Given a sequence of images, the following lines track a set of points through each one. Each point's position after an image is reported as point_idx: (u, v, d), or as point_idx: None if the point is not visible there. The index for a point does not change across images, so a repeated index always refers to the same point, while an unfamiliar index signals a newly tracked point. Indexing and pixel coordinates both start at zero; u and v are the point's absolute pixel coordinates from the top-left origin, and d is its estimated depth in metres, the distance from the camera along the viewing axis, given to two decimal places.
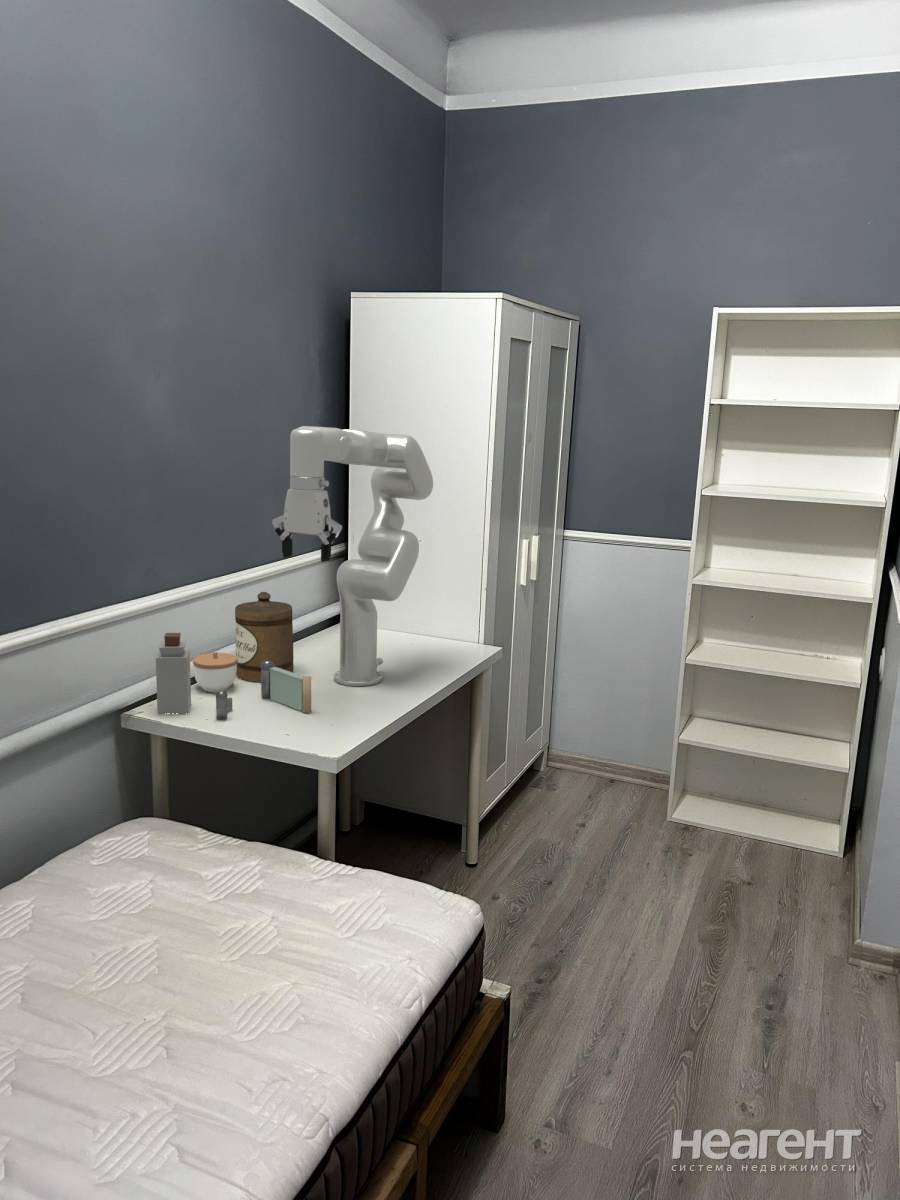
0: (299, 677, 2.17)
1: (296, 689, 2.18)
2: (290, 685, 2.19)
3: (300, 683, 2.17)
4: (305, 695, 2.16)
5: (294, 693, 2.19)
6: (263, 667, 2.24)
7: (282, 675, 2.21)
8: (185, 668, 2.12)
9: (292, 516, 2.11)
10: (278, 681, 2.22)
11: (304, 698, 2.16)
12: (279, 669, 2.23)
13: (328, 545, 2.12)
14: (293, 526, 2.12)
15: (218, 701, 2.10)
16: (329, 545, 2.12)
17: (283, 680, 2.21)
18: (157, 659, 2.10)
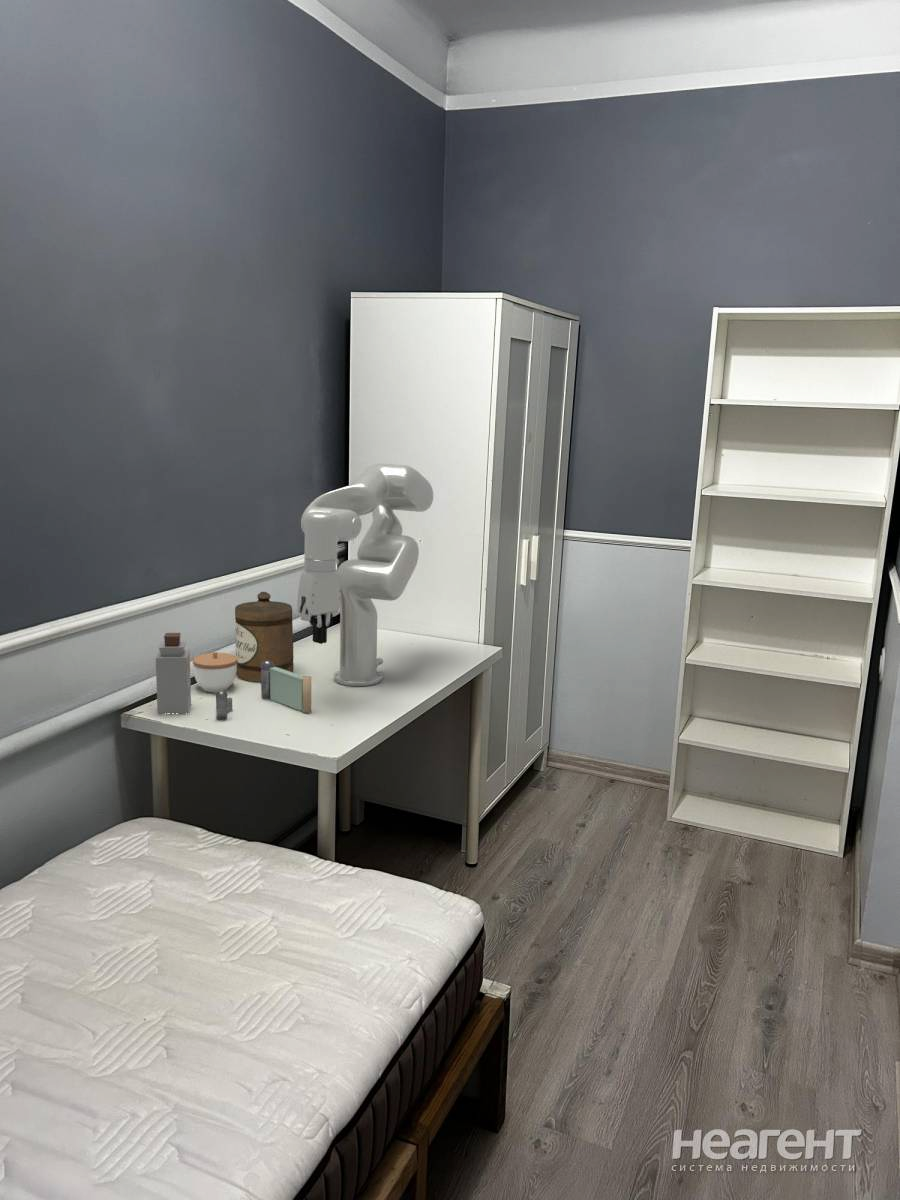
0: (299, 677, 2.17)
1: (296, 689, 2.18)
2: (290, 685, 2.19)
3: (300, 683, 2.17)
4: (305, 695, 2.16)
5: (294, 693, 2.19)
6: (263, 667, 2.24)
7: (282, 675, 2.21)
8: (185, 668, 2.12)
9: (318, 599, 2.15)
10: (278, 681, 2.22)
11: (304, 698, 2.16)
12: (279, 669, 2.23)
13: None
14: (319, 608, 2.16)
15: (218, 701, 2.10)
16: None
17: (283, 680, 2.21)
18: (157, 659, 2.10)
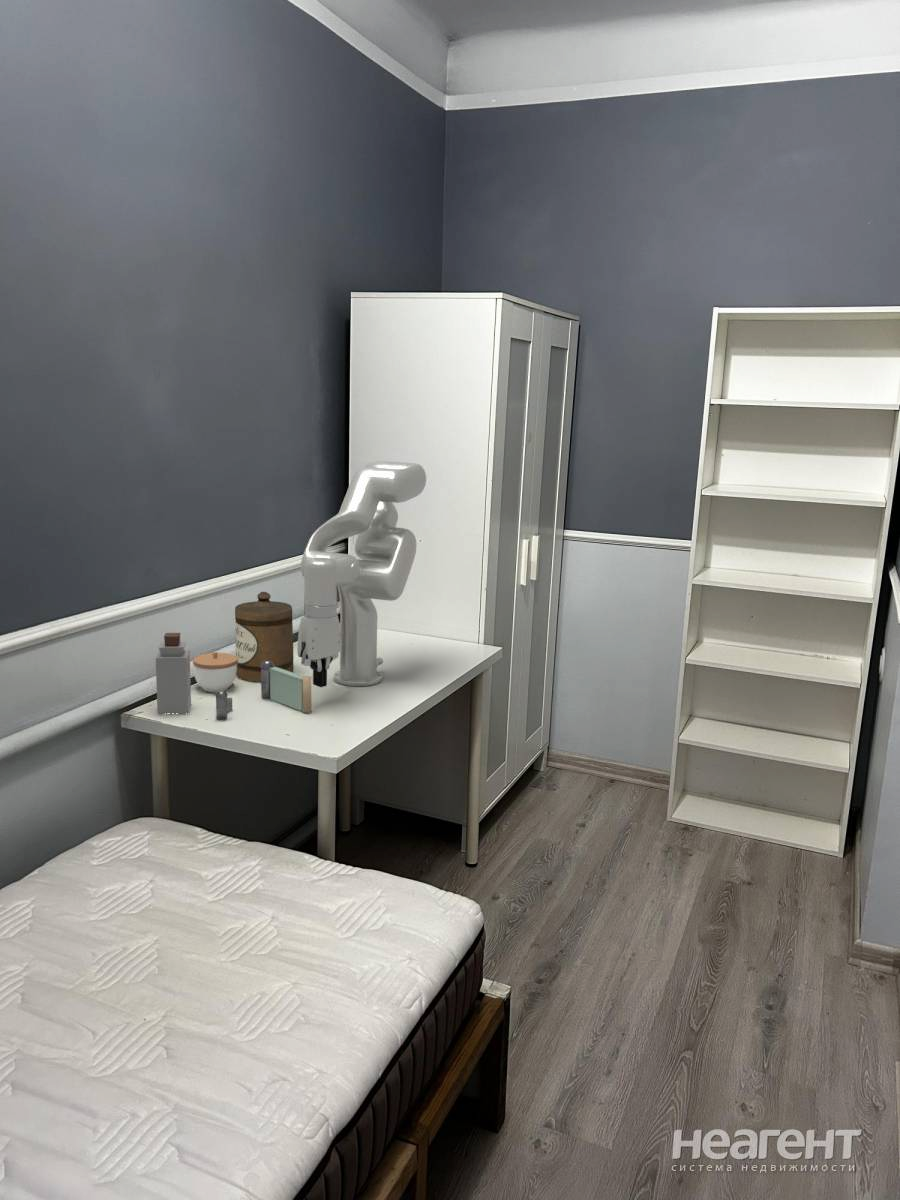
0: (299, 677, 2.17)
1: (296, 689, 2.18)
2: (290, 685, 2.19)
3: (300, 683, 2.17)
4: (305, 695, 2.16)
5: (294, 693, 2.19)
6: (263, 667, 2.24)
7: (282, 675, 2.21)
8: (185, 668, 2.12)
9: (318, 644, 2.17)
10: (278, 681, 2.22)
11: (304, 698, 2.16)
12: (279, 669, 2.23)
13: None
14: (319, 653, 2.18)
15: (218, 701, 2.10)
16: None
17: (283, 680, 2.21)
18: (157, 659, 2.10)
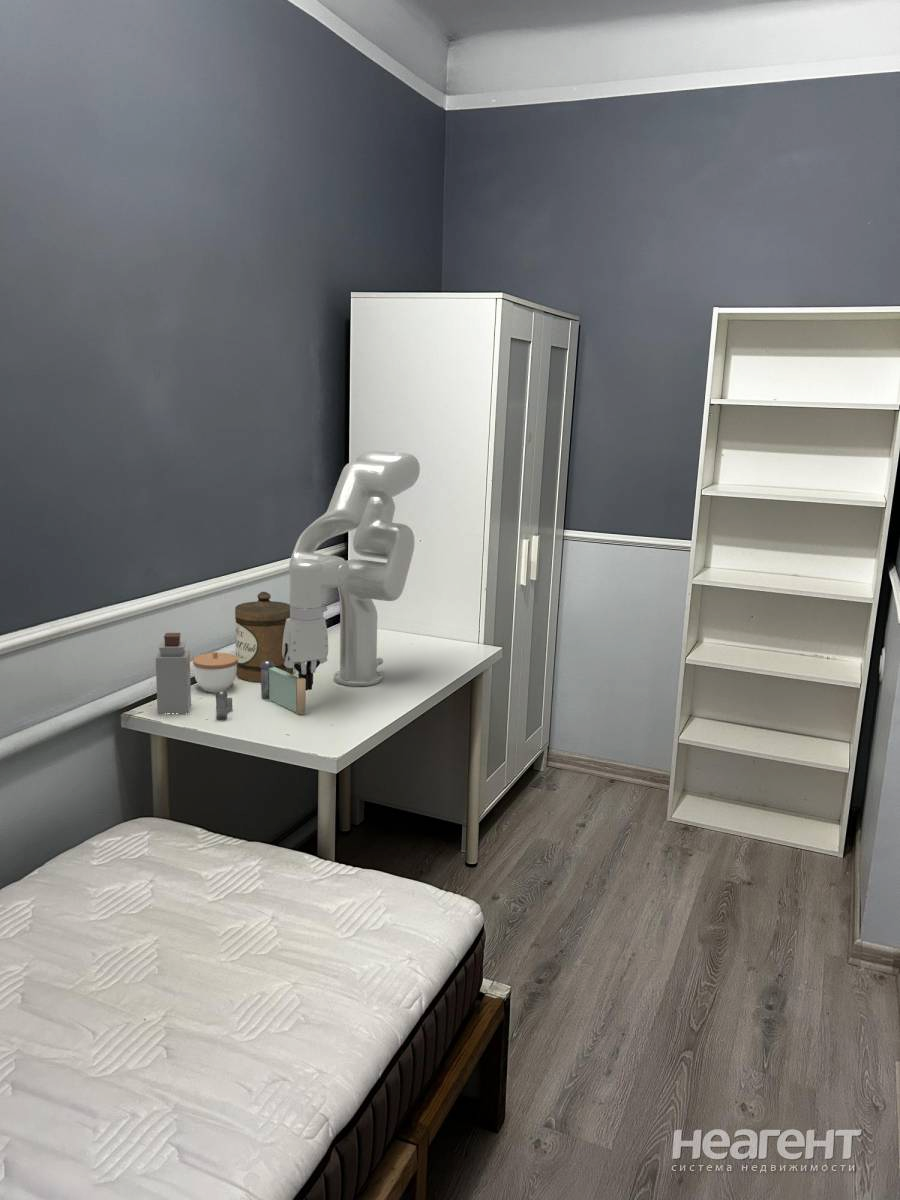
0: (294, 678, 2.16)
1: (291, 690, 2.17)
2: (286, 686, 2.19)
3: (294, 684, 2.16)
4: (298, 697, 2.15)
5: (289, 694, 2.18)
6: (263, 667, 2.24)
7: (279, 676, 2.20)
8: (185, 668, 2.12)
9: (301, 647, 2.14)
10: (276, 681, 2.22)
11: (298, 699, 2.15)
12: (277, 669, 2.22)
13: None
14: (302, 656, 2.15)
15: (218, 701, 2.10)
16: None
17: (280, 680, 2.20)
18: (157, 659, 2.10)
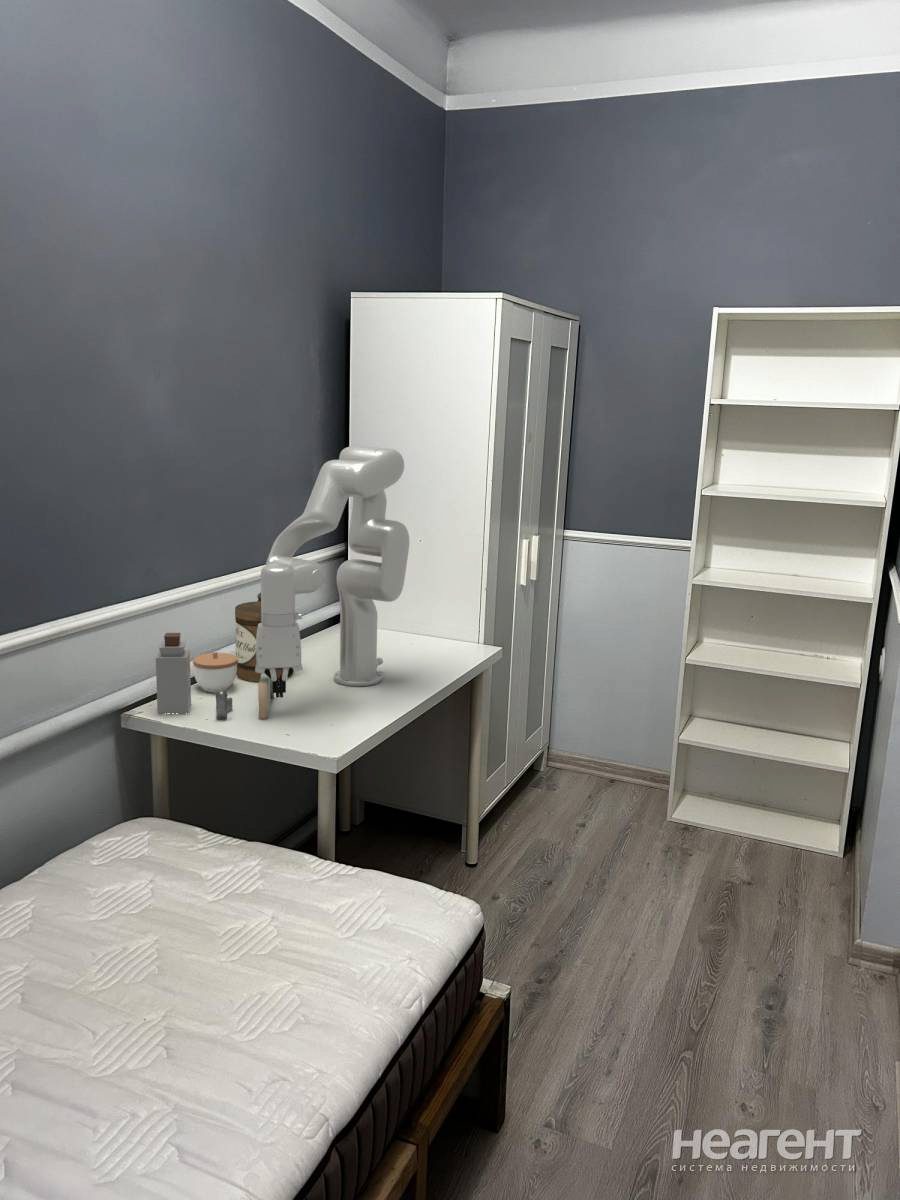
0: (262, 681, 2.13)
1: None
2: None
3: None
4: None
5: None
6: None
7: None
8: (185, 668, 2.12)
9: (268, 653, 2.10)
10: None
11: None
12: None
13: (285, 680, 2.15)
14: (269, 662, 2.11)
15: (218, 701, 2.10)
16: (285, 680, 2.15)
17: None
18: (157, 659, 2.10)
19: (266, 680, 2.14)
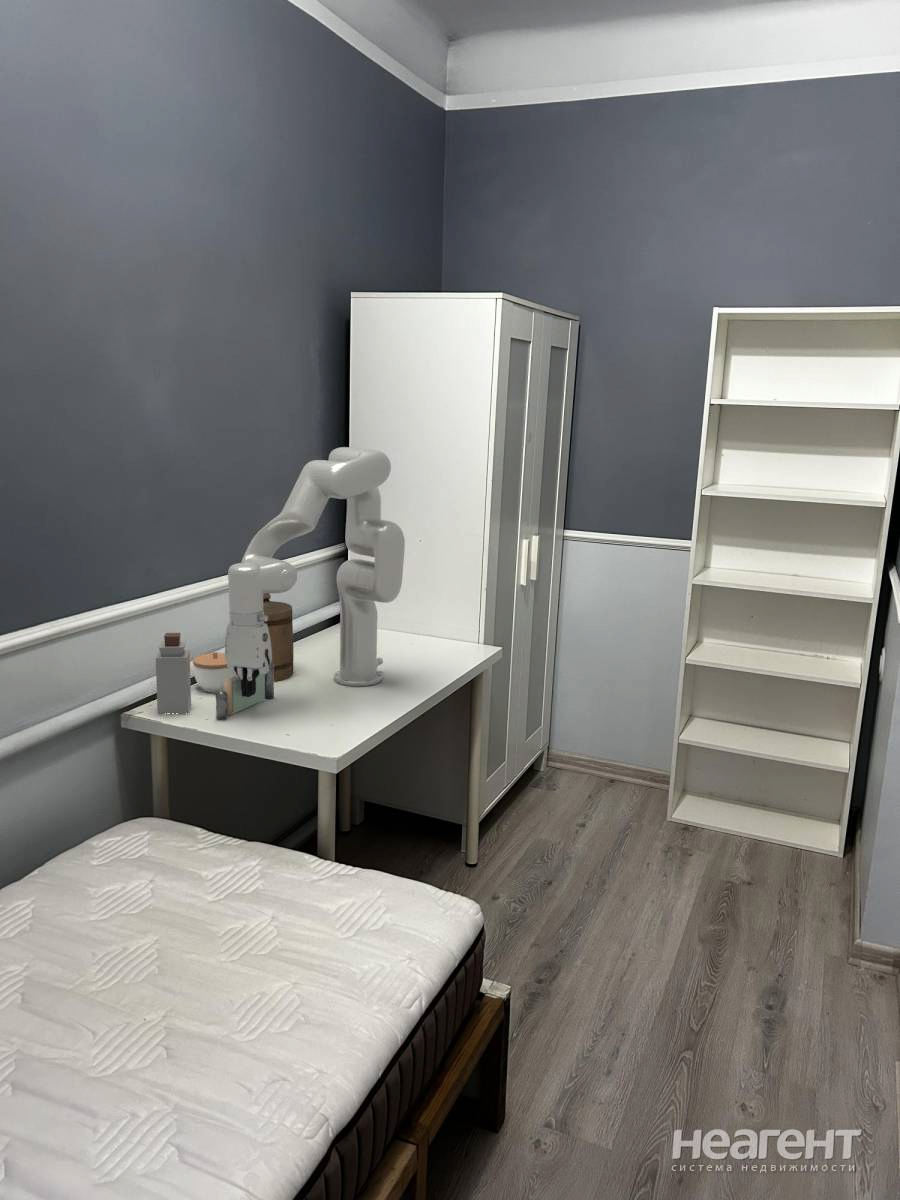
0: (232, 678, 2.15)
1: None
2: None
3: None
4: None
5: None
6: None
7: None
8: (185, 668, 2.12)
9: (232, 650, 2.11)
10: None
11: None
12: None
13: (252, 681, 2.13)
14: (234, 659, 2.12)
15: (218, 701, 2.10)
16: (253, 681, 2.14)
17: None
18: (157, 659, 2.10)
19: (238, 678, 2.15)
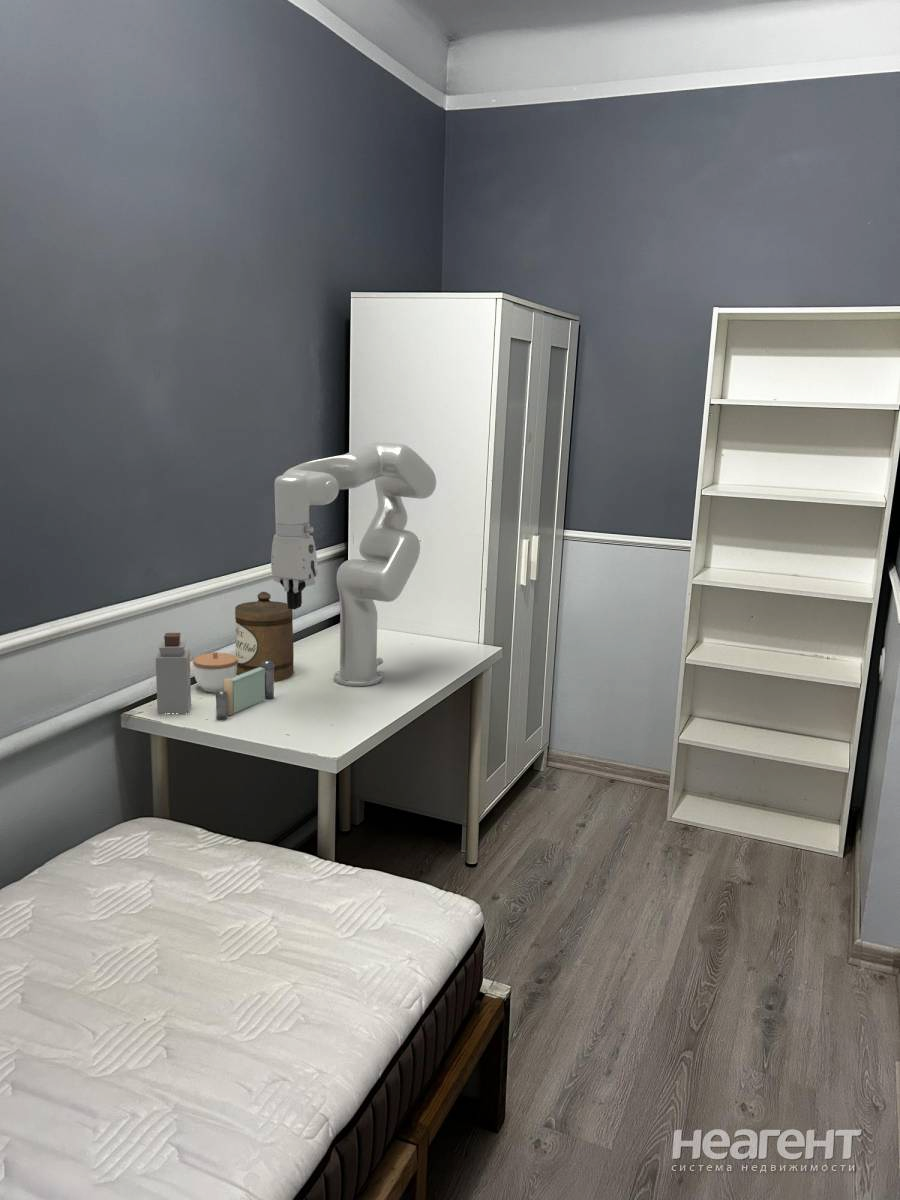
0: (233, 678, 2.15)
1: None
2: None
3: None
4: None
5: None
6: (263, 667, 2.24)
7: None
8: (185, 668, 2.12)
9: (278, 562, 2.13)
10: None
11: None
12: (256, 670, 2.22)
13: (298, 593, 2.15)
14: (280, 571, 2.14)
15: (218, 701, 2.10)
16: (299, 593, 2.16)
17: None
18: (157, 659, 2.10)
19: (238, 678, 2.15)
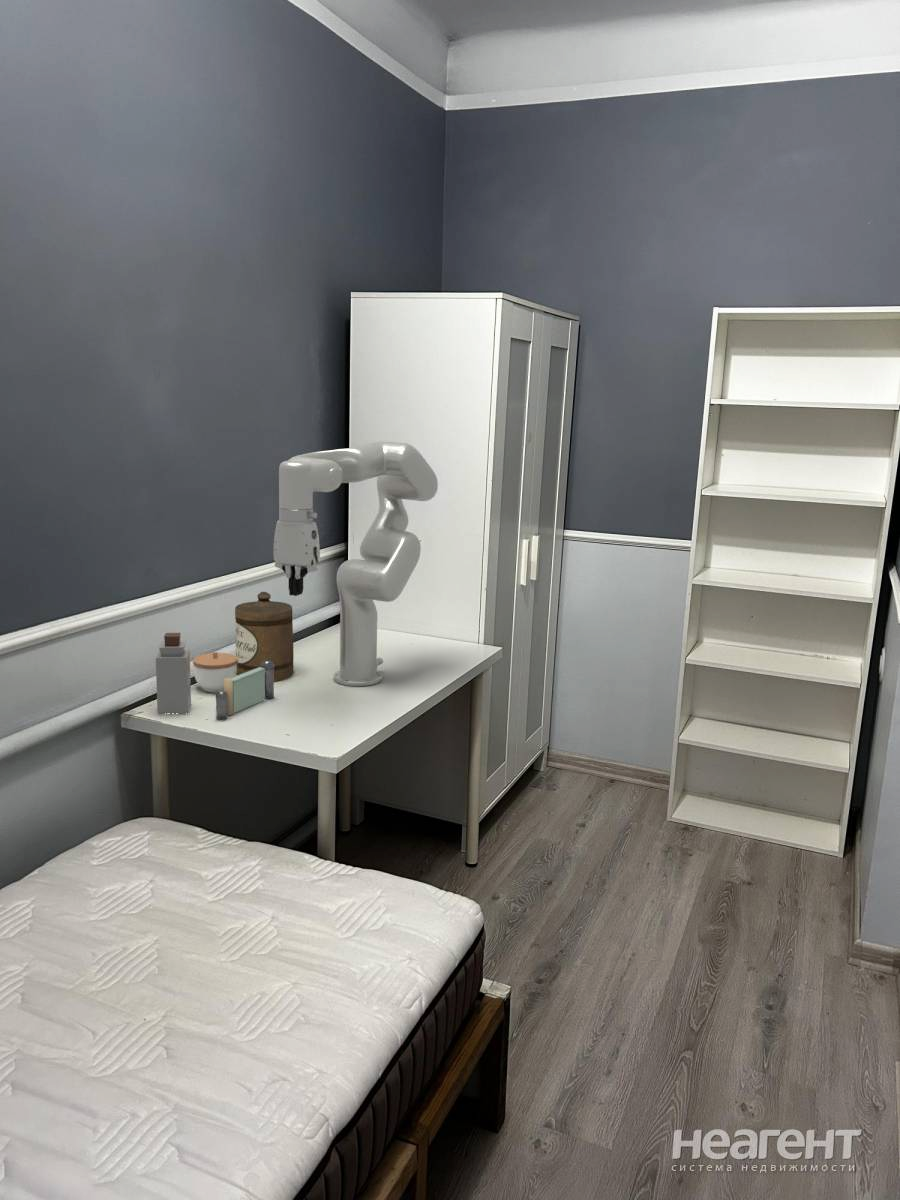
0: (233, 678, 2.15)
1: None
2: None
3: None
4: None
5: None
6: (263, 667, 2.24)
7: None
8: (185, 668, 2.12)
9: (281, 547, 2.13)
10: None
11: None
12: (256, 670, 2.22)
13: (300, 579, 2.15)
14: (282, 557, 2.13)
15: (218, 701, 2.10)
16: (301, 579, 2.15)
17: None
18: (157, 659, 2.10)
19: (238, 678, 2.15)
